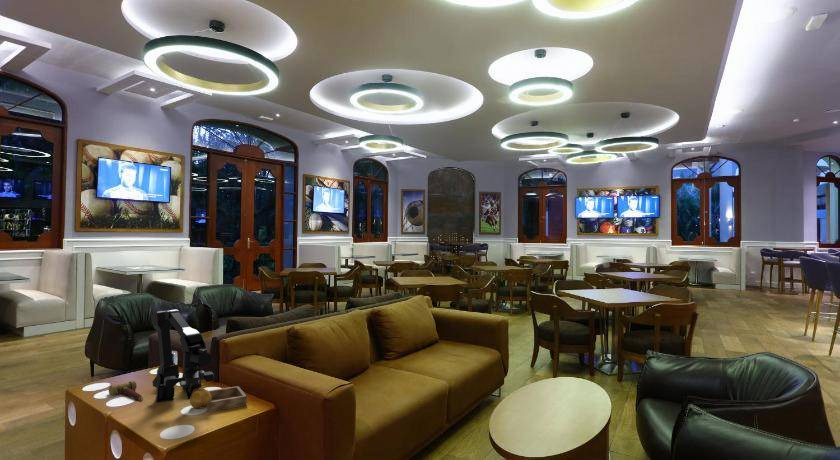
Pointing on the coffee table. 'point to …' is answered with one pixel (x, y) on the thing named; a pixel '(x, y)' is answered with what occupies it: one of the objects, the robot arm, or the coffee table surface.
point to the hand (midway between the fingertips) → (188, 399)
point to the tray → (228, 402)
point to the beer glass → (174, 356)
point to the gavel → (125, 390)
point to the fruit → (200, 398)
